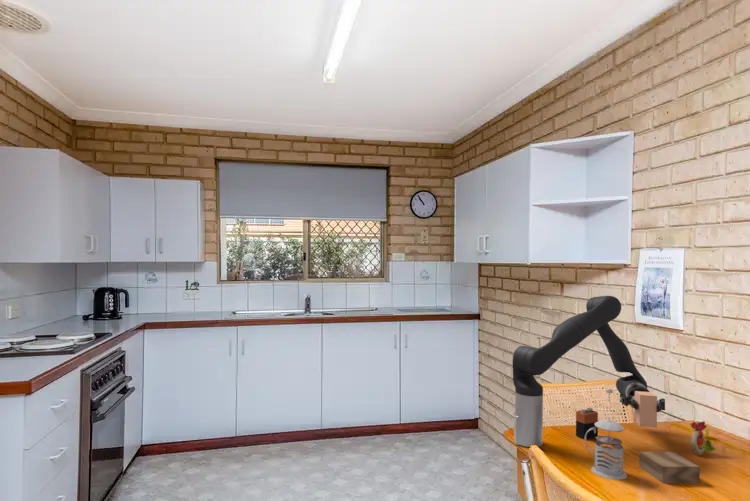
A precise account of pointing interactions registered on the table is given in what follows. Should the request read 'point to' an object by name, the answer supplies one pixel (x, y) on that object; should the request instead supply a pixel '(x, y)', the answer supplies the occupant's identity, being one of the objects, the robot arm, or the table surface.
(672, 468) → the walnut block
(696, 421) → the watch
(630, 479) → the table surface
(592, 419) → the battery
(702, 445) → the bird rattle
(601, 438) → the french press
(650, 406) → the terracotta block
